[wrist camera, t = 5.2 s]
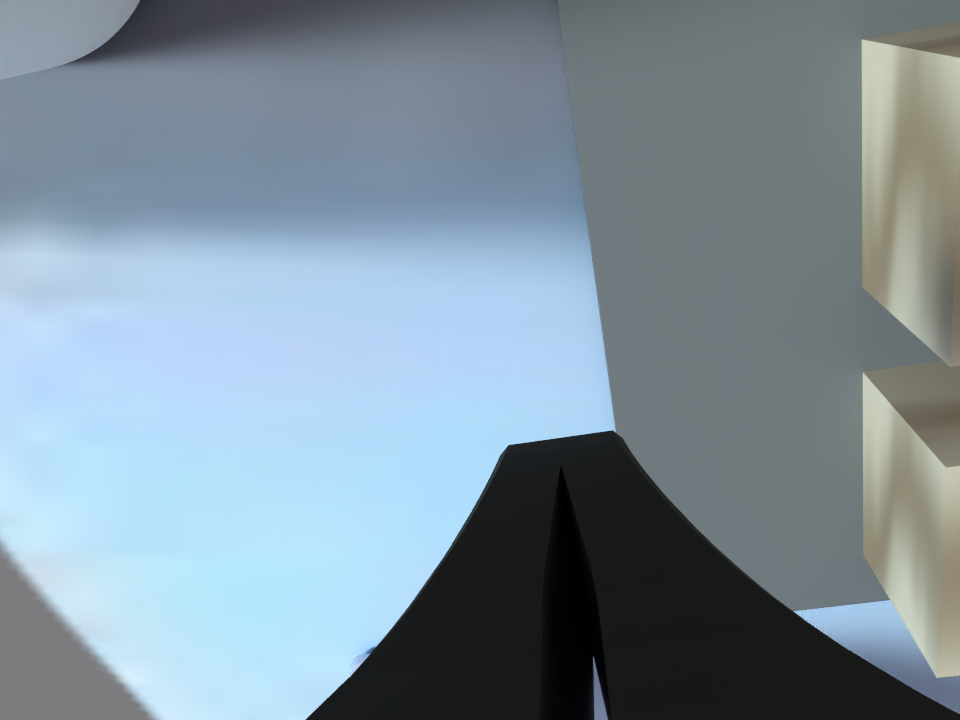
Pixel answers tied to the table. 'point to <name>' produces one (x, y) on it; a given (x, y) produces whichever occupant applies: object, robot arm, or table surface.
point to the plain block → (913, 181)
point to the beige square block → (915, 501)
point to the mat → (740, 265)
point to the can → (55, 31)
